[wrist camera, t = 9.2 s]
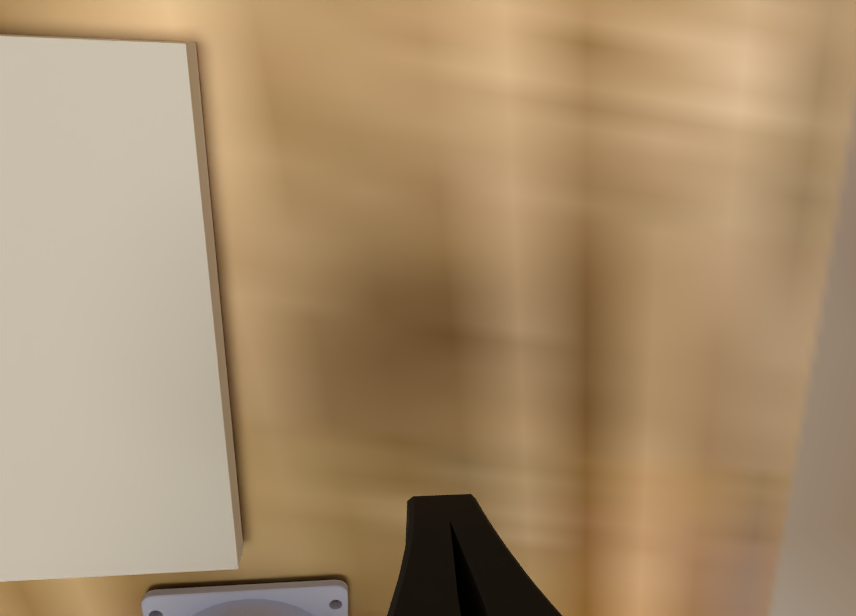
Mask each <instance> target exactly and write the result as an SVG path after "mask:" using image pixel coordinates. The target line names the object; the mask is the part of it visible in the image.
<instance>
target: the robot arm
mask: <svg viewBox="0 0 856 616" xmlns="http://www.w3.org/2000/svg"><path fill="white" fill-rule="evenodd" d="M333 600H339V601H333ZM141 607H142V613H143V616H348V587H347V584H346V583H345V582H344V581H341V580H319V581H301V582H282V583H264V584H246V585H228V586H210V587H192V588H174V589H156V590H151V591H149V592H147V593H146V594H145V595H144V597H143V600H142V603H141ZM156 611H160V612H156ZM387 616H562V615H561V614H560V613H559V612H558V610H557V609H556V608H555V607H554V606H553V605H552V604H551V603H550V601H549V600H548V599H547V598H546V597H545V596H544V594H543V593H542V592H541V591H540V590H539V588H538V587H537V586H536V585H535V584H534V582H533V581H532V580H531V579H530V577H529V576H528V575H527V574H526V572H525V571H524V570H523V568H522V567H521V566H520V564H519V563H518V562H517V560H516V559H515V558H514V556H513V555H512V554H511V552H510V551H509V550H508V548H507V547H506V545H505V544H504V543H503V541H502V540H501V538H500V537H499V535H498V534H497V532H496V531H495V529H494V528H493V526H492V525H491V523H490V522H489V520H488V519H487V517H486V515H485V514H484V512H483V511H482V509H481V507H480V506H479V504H478V502H477V500H476V499H475V498H474V497H473V496H472V495H471V494H462V495H438V496H413V497H412V498H411V499H409V500H408V501H407V523H406V546H405V551H404V556H403V560H402V565H401V570H400V574H399V578H398V582H397V585H396V588H395V592H394V595H393V598H392V602H391V605H390V608H389V611H388V614H387Z"/></svg>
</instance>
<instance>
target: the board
mask: <svg viewBox="0 0 856 616" xmlns="http://www.w3.org/2000/svg"><path fill="white" fill-rule="evenodd" d="M242 549H243V537H242V527H241V516H240V505H239V495H238V484H237V474H236V463H235V453H234V442H233V431H232V421H231V410H230V400H229V389H228V378H227V368H226V357H225V347H224V336H223V326H222V315H221V304H220V294H219V283H218V273H217V262H216V251H215V241H214V230H213V220H212V209H211V199H210V188H209V177H208V167H207V156H206V146H205V135H204V125H203V114H202V103H201V93H200V82H199V72H198V61H197V50H196V42H177V41H153V40H129V39H105V38H81V37H57V36H34V35H10V34H0V582H2V581H21V580H40V579H59V578H78V577H97V576H116V575H135V574H154V573H173V572H192V571H211V570H230V569H239V564H240V559H241V554H242Z"/></svg>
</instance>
